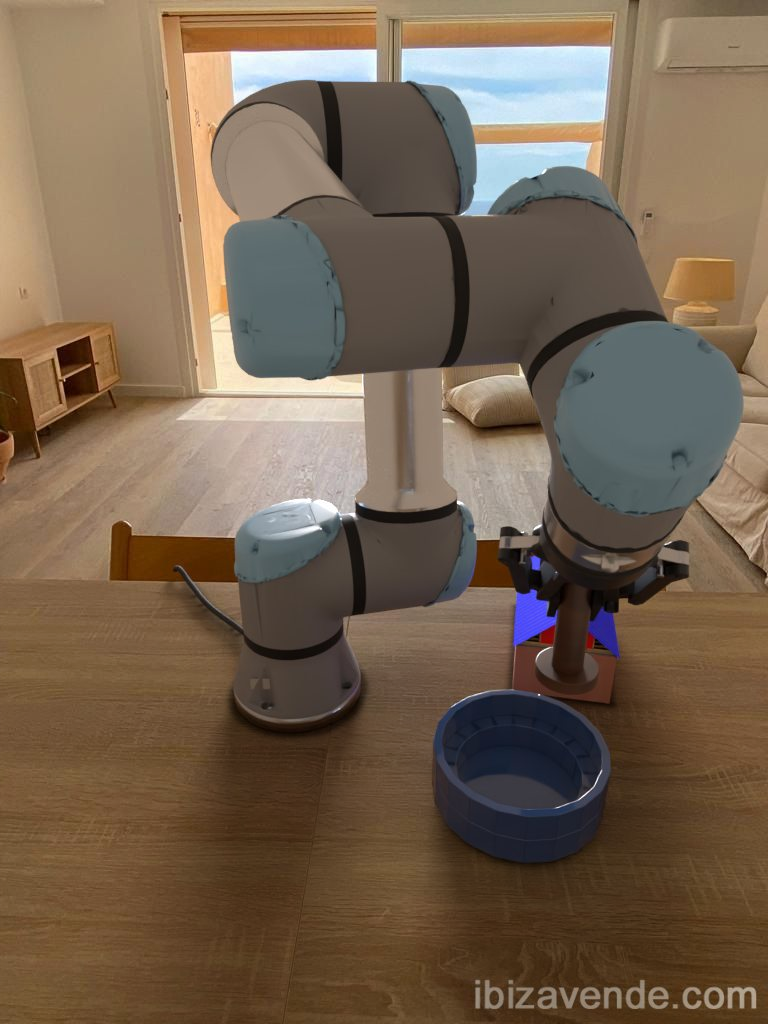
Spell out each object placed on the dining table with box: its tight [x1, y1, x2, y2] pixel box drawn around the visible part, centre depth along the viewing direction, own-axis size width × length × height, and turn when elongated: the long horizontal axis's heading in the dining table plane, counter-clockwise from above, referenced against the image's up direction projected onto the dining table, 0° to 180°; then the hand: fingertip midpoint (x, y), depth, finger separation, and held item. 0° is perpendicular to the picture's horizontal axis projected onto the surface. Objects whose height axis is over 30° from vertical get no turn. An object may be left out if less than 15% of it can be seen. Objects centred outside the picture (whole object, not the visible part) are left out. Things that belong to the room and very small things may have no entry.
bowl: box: [431, 689, 612, 864], centre depth 68 cm, size 17×17×6 cm
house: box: [511, 555, 621, 704], centre depth 89 cm, size 12×20×12 cm, turn 168°
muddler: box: [535, 582, 599, 695], centre depth 60 cm, size 6×6×15 cm
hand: (570, 604), depth 64 cm, fingers closed on muddler, 3 cm apart
